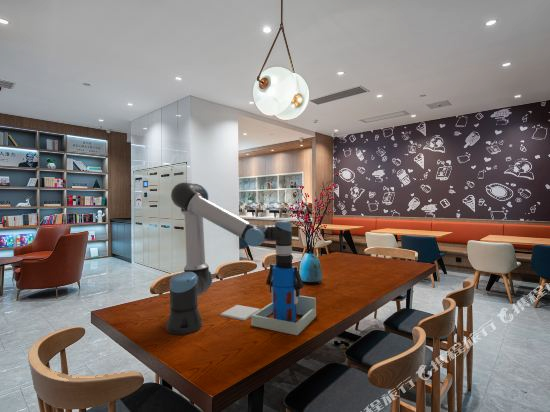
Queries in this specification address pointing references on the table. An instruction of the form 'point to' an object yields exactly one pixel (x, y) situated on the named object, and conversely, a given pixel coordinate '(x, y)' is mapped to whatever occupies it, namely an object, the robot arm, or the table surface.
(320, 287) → the table surface
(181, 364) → the table surface
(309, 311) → the frame
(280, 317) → the thermos
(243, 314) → the tile
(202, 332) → the table surface
